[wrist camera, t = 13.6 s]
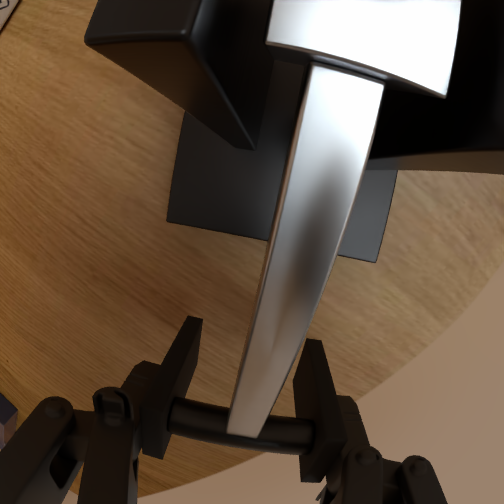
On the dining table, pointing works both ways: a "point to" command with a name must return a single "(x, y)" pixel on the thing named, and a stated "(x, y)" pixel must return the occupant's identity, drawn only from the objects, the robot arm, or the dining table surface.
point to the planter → (6, 10)
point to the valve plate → (7, 421)
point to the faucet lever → (320, 187)
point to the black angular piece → (292, 111)
